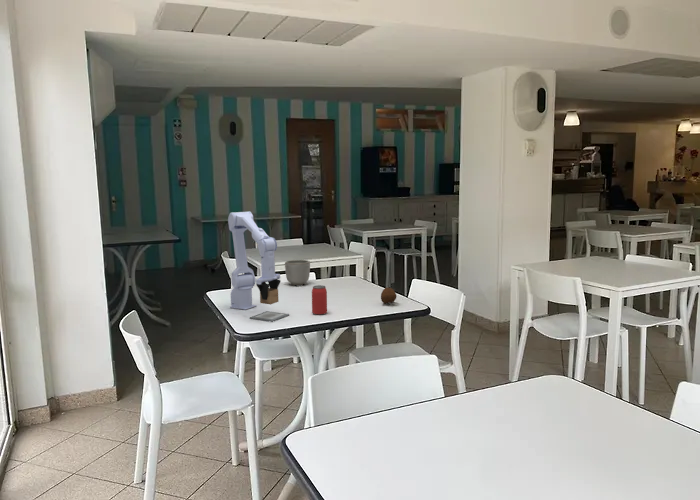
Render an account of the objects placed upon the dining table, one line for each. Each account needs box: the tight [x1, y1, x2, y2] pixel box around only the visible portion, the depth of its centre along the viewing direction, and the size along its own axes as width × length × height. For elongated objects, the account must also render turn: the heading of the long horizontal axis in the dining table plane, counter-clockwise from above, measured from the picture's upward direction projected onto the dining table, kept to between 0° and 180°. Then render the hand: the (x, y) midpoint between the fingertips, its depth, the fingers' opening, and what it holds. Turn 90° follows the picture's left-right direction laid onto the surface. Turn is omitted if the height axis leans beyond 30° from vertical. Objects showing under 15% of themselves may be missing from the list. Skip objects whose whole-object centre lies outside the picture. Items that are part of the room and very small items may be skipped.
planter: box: [284, 259, 311, 286], centre depth 304 cm, size 14×14×13 cm
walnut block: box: [259, 287, 279, 305], centre depth 235 cm, size 6×6×6 cm
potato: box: [380, 287, 397, 305], centre depth 257 cm, size 7×10×8 cm
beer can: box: [311, 284, 328, 316], centre depth 241 cm, size 7×7×12 cm
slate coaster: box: [249, 310, 290, 323], centre depth 236 cm, size 12×12×1 cm
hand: (269, 297), depth 235 cm, fingers closed on walnut block, 6 cm apart
